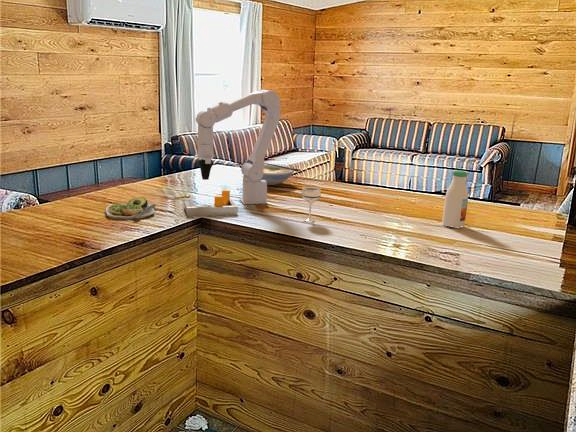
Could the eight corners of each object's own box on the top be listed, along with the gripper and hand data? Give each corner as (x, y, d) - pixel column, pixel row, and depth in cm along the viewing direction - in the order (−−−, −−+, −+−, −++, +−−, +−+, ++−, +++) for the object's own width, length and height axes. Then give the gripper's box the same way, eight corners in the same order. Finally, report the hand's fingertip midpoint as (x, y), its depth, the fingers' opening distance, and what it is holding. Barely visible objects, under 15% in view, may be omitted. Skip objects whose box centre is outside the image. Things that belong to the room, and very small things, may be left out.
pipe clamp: (218, 205, 203) (218, 189, 201) (229, 206, 202) (229, 190, 201) (209, 213, 191) (209, 196, 190) (221, 214, 191) (221, 197, 189)
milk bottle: (452, 229, 184) (460, 173, 178) (437, 224, 190) (444, 169, 185) (468, 227, 187) (476, 172, 182) (453, 222, 194) (460, 168, 189)
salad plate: (161, 221, 180) (160, 208, 179) (106, 224, 174) (105, 210, 173) (155, 207, 197) (155, 195, 196) (105, 209, 192) (104, 197, 190)
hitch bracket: (231, 206, 201) (232, 199, 201) (237, 214, 191) (237, 206, 190) (184, 207, 197) (184, 200, 196) (187, 216, 186) (187, 208, 185)
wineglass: (309, 217, 192) (311, 184, 189) (323, 221, 187) (325, 188, 184) (296, 220, 187) (297, 187, 184) (310, 224, 183) (311, 190, 179)
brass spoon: (188, 196, 215) (188, 194, 215) (191, 197, 213) (191, 195, 213) (173, 198, 211) (173, 196, 211) (176, 199, 210) (176, 197, 209)
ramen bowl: (232, 182, 245) (233, 164, 243) (269, 177, 260) (270, 160, 258) (267, 192, 227) (268, 173, 225) (305, 186, 242) (306, 168, 240)
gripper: (192, 140, 202) (192, 175, 206) (197, 146, 189) (197, 183, 192) (210, 141, 204) (210, 175, 208) (216, 146, 191) (216, 183, 194)
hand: (205, 179), depth 200 cm, fingers closed
